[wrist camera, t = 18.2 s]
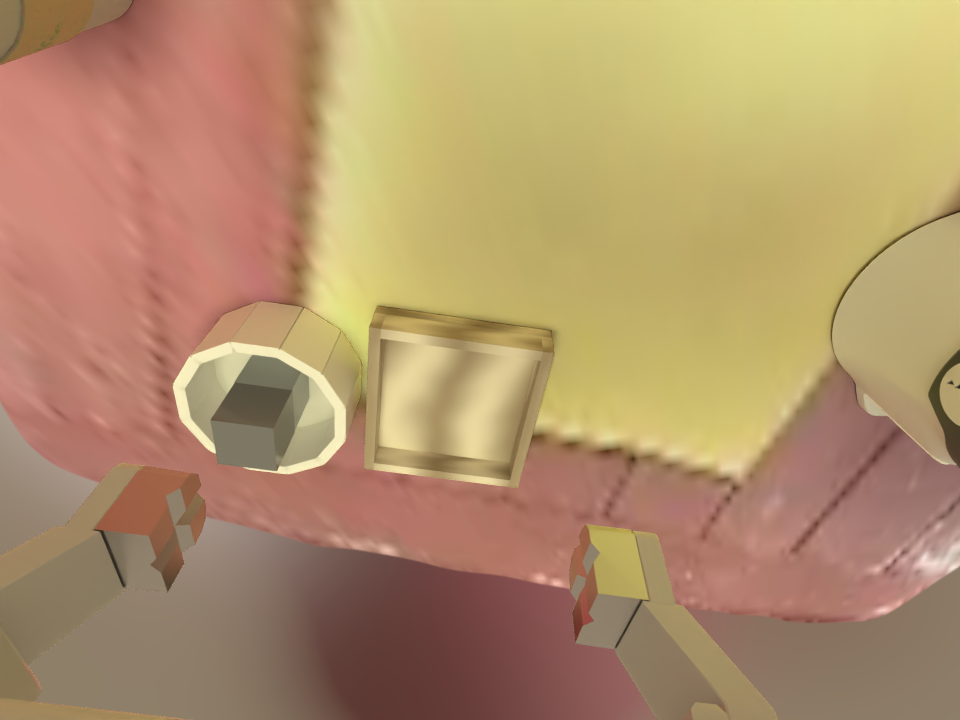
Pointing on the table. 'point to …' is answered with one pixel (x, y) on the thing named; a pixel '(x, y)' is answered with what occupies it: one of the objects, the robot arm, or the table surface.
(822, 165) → the table surface
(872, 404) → the robot arm
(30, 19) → the coffee cup
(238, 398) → the charcoal cube
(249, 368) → the taupe cube
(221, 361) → the bowl
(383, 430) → the parts tray
